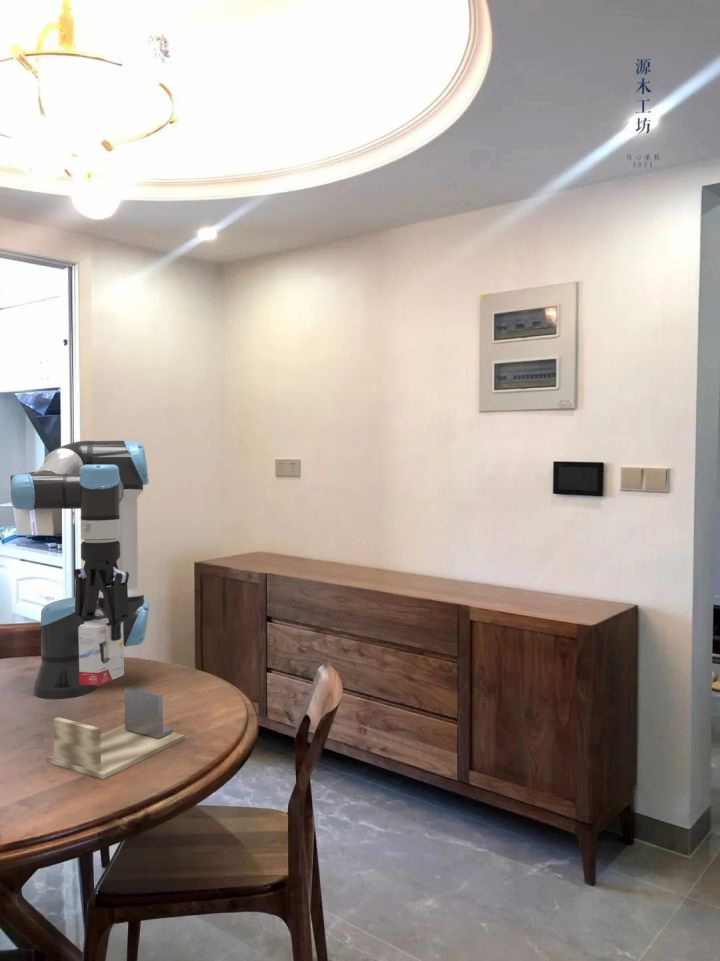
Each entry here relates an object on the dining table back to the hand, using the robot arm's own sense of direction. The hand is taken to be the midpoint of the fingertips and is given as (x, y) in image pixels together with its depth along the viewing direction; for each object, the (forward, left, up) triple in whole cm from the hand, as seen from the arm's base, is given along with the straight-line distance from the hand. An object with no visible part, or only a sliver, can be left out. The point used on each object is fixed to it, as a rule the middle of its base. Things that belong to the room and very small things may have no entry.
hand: (101, 653), depth 151 cm
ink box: (0, 0, -6) cm, 6 cm away
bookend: (+1, +11, -19) cm, 22 cm away
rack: (+1, +3, -21) cm, 21 cm away
